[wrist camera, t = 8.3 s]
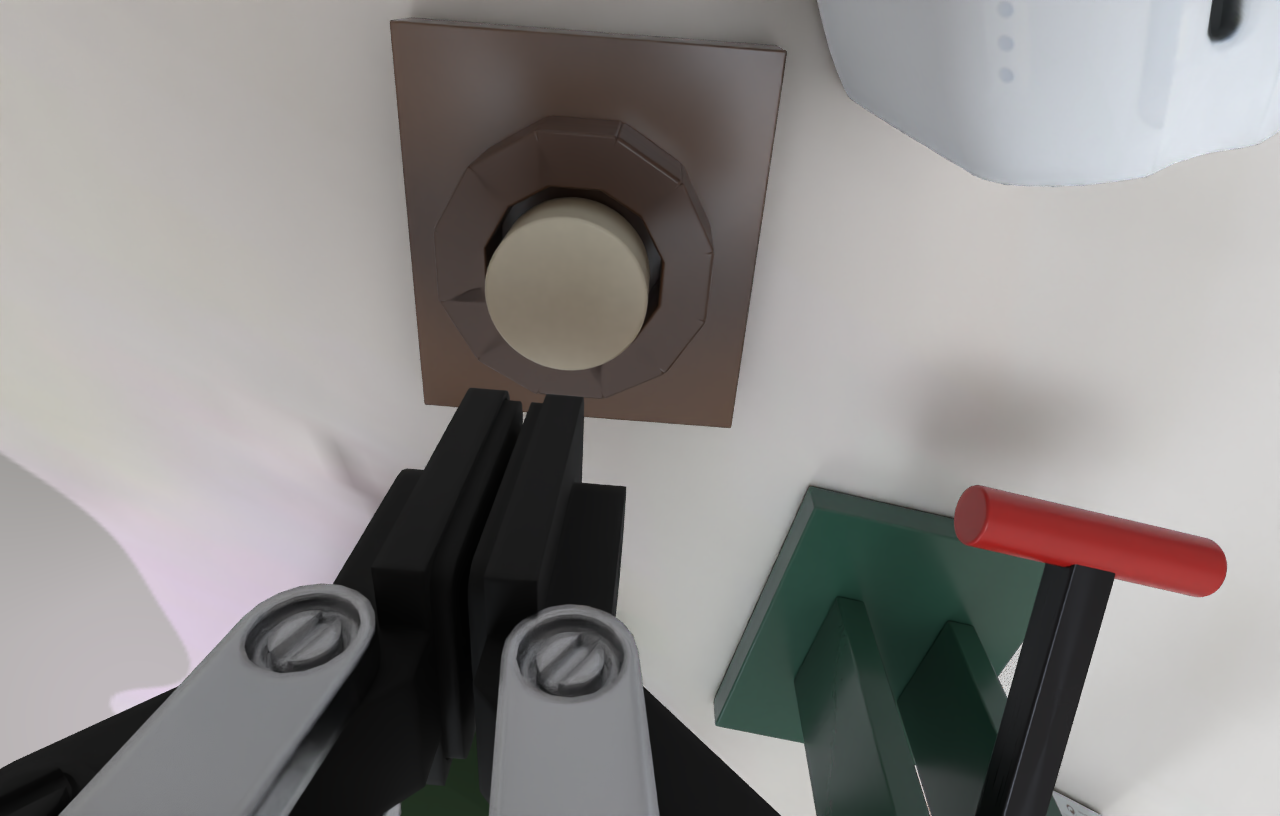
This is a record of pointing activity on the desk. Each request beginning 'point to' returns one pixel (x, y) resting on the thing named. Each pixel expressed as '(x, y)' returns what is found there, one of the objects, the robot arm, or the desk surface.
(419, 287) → the button block
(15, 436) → the desk surface
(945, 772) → the bracket
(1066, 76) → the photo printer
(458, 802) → the toy figurine
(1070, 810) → the small box
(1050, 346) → the desk surface
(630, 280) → the button
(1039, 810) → the lever
